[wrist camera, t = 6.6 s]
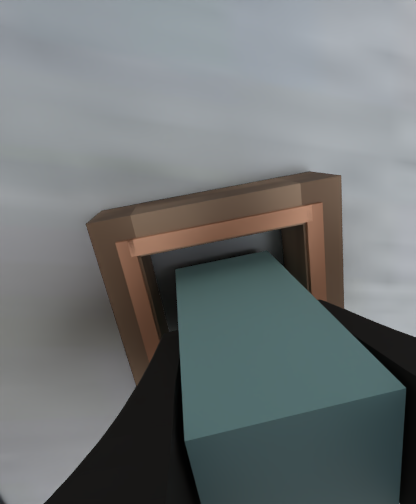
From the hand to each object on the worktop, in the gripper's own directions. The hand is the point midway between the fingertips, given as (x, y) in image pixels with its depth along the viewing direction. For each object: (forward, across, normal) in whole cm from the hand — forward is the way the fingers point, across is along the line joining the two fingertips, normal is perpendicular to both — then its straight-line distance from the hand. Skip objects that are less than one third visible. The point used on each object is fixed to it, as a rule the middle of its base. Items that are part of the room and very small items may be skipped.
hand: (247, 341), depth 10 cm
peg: (+3, 0, 0) cm, 4 cm away
